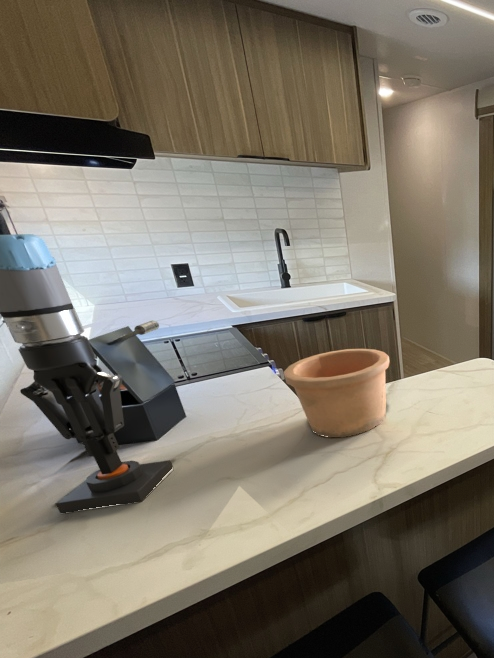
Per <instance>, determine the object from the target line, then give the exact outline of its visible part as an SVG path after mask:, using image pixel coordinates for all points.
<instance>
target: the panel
mask: <svg viewBox="0 0 494 658" xmlns="http://www.w3.org/2000/svg"><path fill="white" fill-rule="evenodd" d="M121 462H122V464H126V465H128V468H129V469H128V470H127V471H126V472H124V473H122V474H120V475H118V476H114V477H111V478H108V479H101V480H99V478H98V476H97V475H98V473H99V472H101V471H100V469H98V470H96V471H94V472H93V473H91V474H90V475H88V476H87V477H86V479H85V480H84V481H83V482H81V483H80V484H78V485H77V486H76V487H75V488H74V489H72V490H71V491H69V492H68V493H67V494H66V495H64V496H63V497H62V498H60V499H59V500H58V501H57V502H55V503H54V504H55V506H56V509H57V510H58V512H59V514H60V513H65V514H67V513H66V512H72V513H75V512H74V511H78V510H83V509H89V508H96V507H102V506H109V505H116V504H125V505H129V504H128V503H132V504H135V503H134V502H138V503H143V501H145V500H146V499H147V497H148V496H149V495H150V494H151V493H152V492H153V491H154V490H153V488H154V487H156V485H157V484H158V483H159V482H160V481H161V480H162V478H163V477H164V476H165V475H166V474H167V473H168V472H169V471H170V470H171V469H172V467H173V468H174V465H173V463H172V461H171V460H161V461H154V462H147V463H139V461H136V460H124V461H121ZM156 488H157V487H156ZM152 490H153V491H152ZM151 491H152V492H151ZM150 492H151V493H150ZM149 493H150V494H149ZM148 494H149V495H148ZM147 495H148V496H147ZM146 496H147V497H146ZM78 512H79V511H78Z"/></svg>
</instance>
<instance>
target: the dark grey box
mask: <svg viewBox="0 0 494 658" xmlns="http://www.w3.org/2000/svg"><path fill="white" fill-rule="evenodd" d="M120 395H121V403H122V412H123V420H124V426H123V427H121V428H120V429H119V430H117V431H116V432H114V433H113V434H114V436H115V439H116V441H117V444H118V445H119V446H123V445H124V446H125V445H134V444H142V443H148V442H150V443H151V442H156V441H158V440H160V439H161V438H162V437H164V436H165V435H166V434H167V433H168V432H169V431H171V430H172V429H173V428H175V427H176V425H178V424H179V423H180V422H181V421H183V420H184V419H185V418H186V417H187V414H186V411H185V408H184V405H183V403H182V401H181V398H180V395H179V391H178V389H177V387H176V384H175V383H173V384H171V385H170V386H168V387H167V388H165V389H163V390H162V391H160V392H159V393H157V394H156V395H154V396H153V397H151V398H149V399H148V400H146V401H145V402H143V403H141V404H140V403H139V402H138V401H137V400H136V399H135V397H134V396H133V395H132V394H131V393H130V392H129V391H128V390H127V389H125V390H120ZM99 397H100V399H101V402H102V398H101V395H99ZM76 441H77V443H78V444H81V443H82V441H80V440H78V439H76ZM82 444H83V443H82Z"/></svg>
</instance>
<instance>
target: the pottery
mask: <svg viewBox="0 0 494 658" xmlns="http://www.w3.org/2000/svg"><path fill="white" fill-rule="evenodd" d="M389 366H390V356H389V355H388V354H387V353H386V352H384V351H382V350H377V349H373V348H372V349H371V348H347V349H339V350H334V351H326V352H323V353H318V354H314V355H311V356H309V357H308V356H307V357H305V358H303V359H299V360H298V361H296V362H294V363H292V364H290V365H288V366H287V368H286V369H285V370H284V371H283V376H284V379H285V383H286V384H287V385H288V386H291V387H293V388H294V391H295V393H296V396H297V398H298V401H299V403H300V406H301V407H302V410H303V412H304V414H305V417H306V419H307V422H308V424H309V427H310V429H311V431H312V430H313V431H314V432H316V433H317V434H319V435H324V436H328V437H341V438H347V437H346V436H348V437H352V436H351V435H353V436H357V435H360V434H363V433H365V431H366V432H368V431H370V429H371V430H373V429H374V428H376V427H377V426H379V425H380V424H381V423H382V422H383V421H384V420H385V419H386V416H387V401H386V400H387V395H386V394H387V393H386V387H387V386H386V370H387V369H388V368H389ZM375 426H376V427H375ZM362 432H363V433H362ZM359 433H360V434H359ZM317 434H316V435H317ZM356 434H357V435H356ZM319 435H318V436H319ZM328 437H327V438H328Z"/></svg>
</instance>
